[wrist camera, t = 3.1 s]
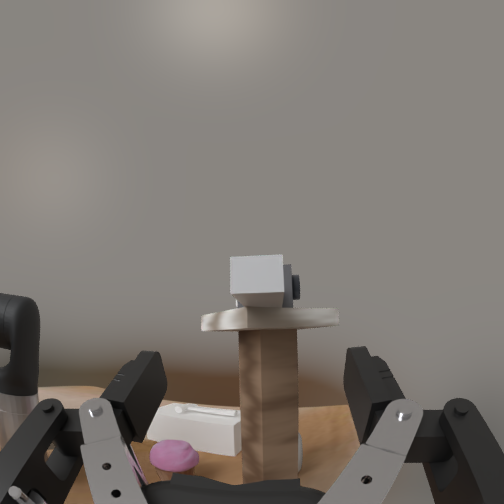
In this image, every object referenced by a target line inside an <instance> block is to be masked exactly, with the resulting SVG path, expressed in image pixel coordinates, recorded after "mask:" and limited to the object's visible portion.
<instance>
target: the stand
mask: <svg viewBox="0 0 504 504" xmlns="http://www.w3.org/2000/svg"><path fill="white" fill-rule="evenodd" d="M338 325H339V316H338V308H278V307H248V306H247V307H242V308H237V309H232V310H227V311H223V312H217V313H212V314H207V315H202V316H201V326H202V327H201V330H202V331H239V378H240V415H241V446H242V473H243V484H247V483H253V482H259V481H264V480H281V479H298V353H297V329H308V328H319V327H328V326H338Z"/></svg>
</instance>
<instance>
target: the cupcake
mask: <svg viewBox="0 0 504 504" xmlns="http://www.w3.org/2000/svg"><path fill="white" fill-rule="evenodd" d="M150 462H151V464H152V465H154V466H155V469H156V471H157V473H158V475H159V477H160V479H161V481H166V480H171V477H172V474H173V473H179V474H186V475H193V476H194V468H195V466H196V465H197V464H198V462H199V455H198V453H197V452H196V451H195V450H194V449H193V448H192V446H191V445H190V444H189V443H188V442H186V441H183V440H162V441H160V442H159V443H157V444H155V445H154V446H153V447H152V449H151V451H150Z"/></svg>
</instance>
